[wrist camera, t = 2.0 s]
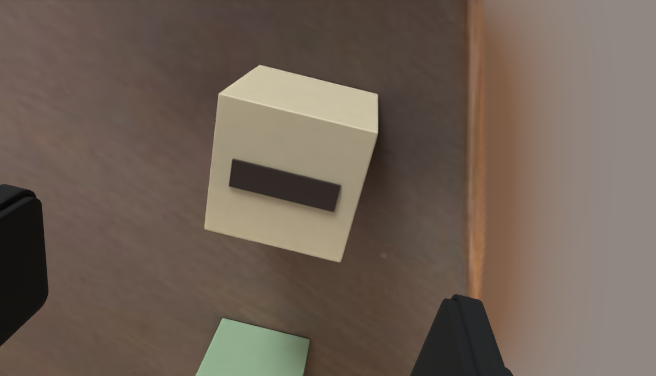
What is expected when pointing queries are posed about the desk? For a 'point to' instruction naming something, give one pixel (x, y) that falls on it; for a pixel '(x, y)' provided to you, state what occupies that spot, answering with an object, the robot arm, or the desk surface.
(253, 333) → the letter tile i
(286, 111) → the cream cube
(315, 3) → the desk surface
